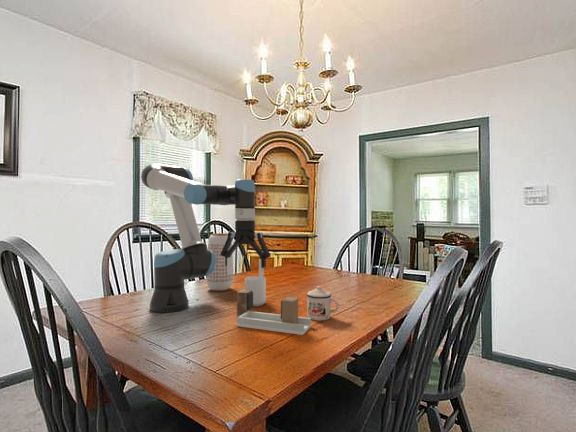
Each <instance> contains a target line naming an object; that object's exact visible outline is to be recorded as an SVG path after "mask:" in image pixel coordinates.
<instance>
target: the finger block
mask: <svg viewBox="0 0 576 432" xmlns="http://www.w3.org/2000/svg"><path fill="white" fill-rule="evenodd" d="M253 308H254V306H253V292H252V290H245V288H244V289H242V290H241V289H240V290H239V291H236V316H237V317H239V316H240V315H242V314H244V313H246V312H247V311H253Z"/></svg>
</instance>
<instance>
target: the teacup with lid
mask: <svg viewBox="0 0 576 432" xmlns="http://www.w3.org/2000/svg"><path fill="white" fill-rule="evenodd" d="M306 296H307V303H306V304H307V307H306V308H307V309H306V310H307V311H306V312H307V313H306V314H307V317H306V318H311V321H318V322H319V321H320V322H321V321H328V320H329V319H330V318H331V313H335V312H337V310H338V309H339V305H340V304H339V302H338V300H337V299H335V298H331V297H332V294H331V292H330V291H327V290H325V289H324V288H323V287H322V286H321V285H317V286H316V288H314V289H312V290H310V291H308V292H307V294H306ZM332 302H334V303H335V304H336V305H335V306H336V307H335V309H331V303H332Z"/></svg>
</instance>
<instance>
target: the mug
mask: <svg viewBox="0 0 576 432" xmlns="http://www.w3.org/2000/svg"><path fill="white" fill-rule="evenodd" d="M266 281H267V279H266V277H265V276H262V277H259V275H255V276H253V275H252V276H247V277H245V278H244V290H252V292H253V307H261V306H263V305H264V304H265V303H266V294H267V292H266V290H267V289H266V288H267V284H266Z"/></svg>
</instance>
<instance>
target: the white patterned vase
mask: <svg viewBox="0 0 576 432" xmlns="http://www.w3.org/2000/svg"><path fill="white" fill-rule="evenodd" d="M227 238H228V233H227V232H226V233H225V232H223V233H221V232H219V233H212V234H210V236H209V237H208V242H207V249H209V250H212V251H213V252H214V254H215V257H216V265H215V268H214V270H213V272H212V273H211V274H210V275H207V276H205V277H206V285H207V287H208V288H209V289H210V290H211V292H226V291H228V290H230V288H231V287H232V285H233V283H234V257H233V255H234V253H232V255H231V257H232V274H230V275H227V266H226V265H225V257H224V256H221V252H222V249H223V247H224V245H225V243H226V240H227ZM232 245H233V244H232V243H231V245H230V247H229V249H230V248H231V246H232ZM229 249H228V250H229Z"/></svg>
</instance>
